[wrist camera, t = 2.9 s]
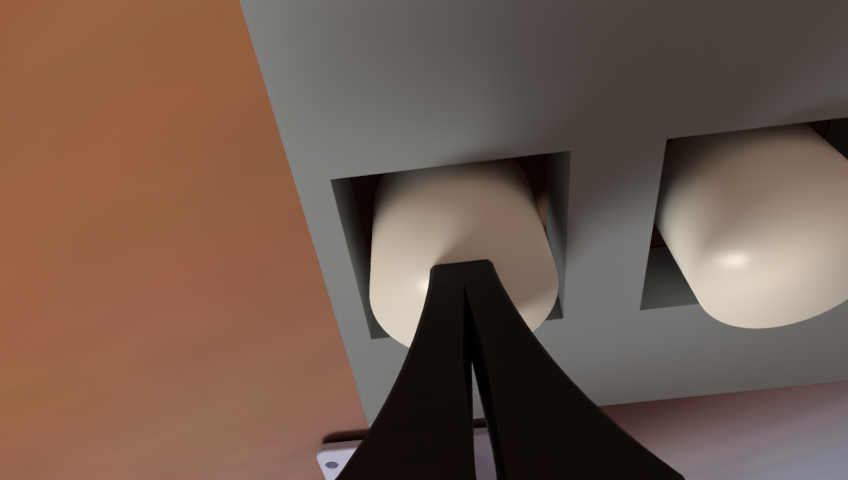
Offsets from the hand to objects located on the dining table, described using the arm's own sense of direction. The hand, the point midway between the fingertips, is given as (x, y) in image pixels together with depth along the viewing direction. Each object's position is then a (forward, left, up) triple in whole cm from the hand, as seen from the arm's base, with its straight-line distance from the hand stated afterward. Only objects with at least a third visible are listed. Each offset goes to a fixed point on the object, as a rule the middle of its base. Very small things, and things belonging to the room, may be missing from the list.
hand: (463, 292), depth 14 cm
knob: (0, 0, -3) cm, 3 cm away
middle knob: (0, -8, -3) cm, 8 cm away
